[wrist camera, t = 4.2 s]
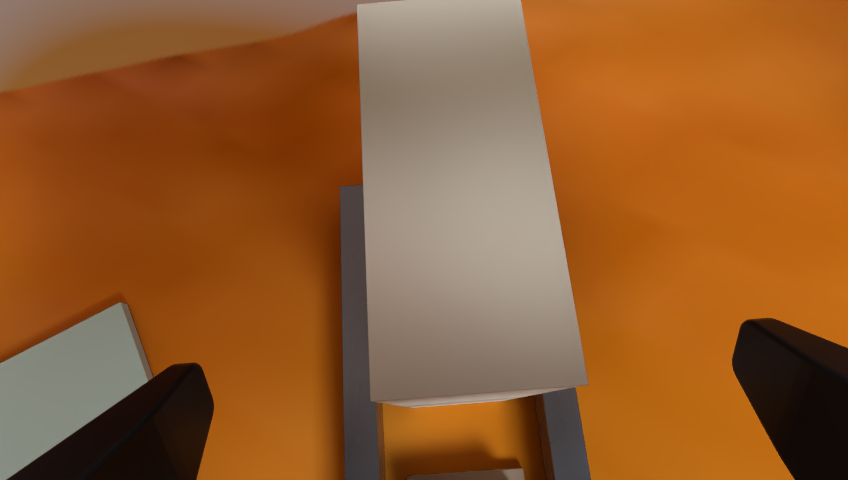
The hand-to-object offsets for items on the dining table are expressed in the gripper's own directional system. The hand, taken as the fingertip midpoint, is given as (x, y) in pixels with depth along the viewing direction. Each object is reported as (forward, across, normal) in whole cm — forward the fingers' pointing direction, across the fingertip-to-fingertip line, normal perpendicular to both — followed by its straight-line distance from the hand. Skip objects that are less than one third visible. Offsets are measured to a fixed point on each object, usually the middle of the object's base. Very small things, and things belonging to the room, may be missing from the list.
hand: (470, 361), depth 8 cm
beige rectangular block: (+8, 0, +4) cm, 9 cm away
